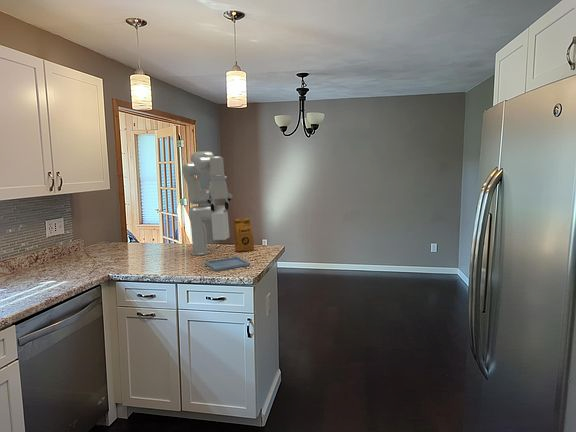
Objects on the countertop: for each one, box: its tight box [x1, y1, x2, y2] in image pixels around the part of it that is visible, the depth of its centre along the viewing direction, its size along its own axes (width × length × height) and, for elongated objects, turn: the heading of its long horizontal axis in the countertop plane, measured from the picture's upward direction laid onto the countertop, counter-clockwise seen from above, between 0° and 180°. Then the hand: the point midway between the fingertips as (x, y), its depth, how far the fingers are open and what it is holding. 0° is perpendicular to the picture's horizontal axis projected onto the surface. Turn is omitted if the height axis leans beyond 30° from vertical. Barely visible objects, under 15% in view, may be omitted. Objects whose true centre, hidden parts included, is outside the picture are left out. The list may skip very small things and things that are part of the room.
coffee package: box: [233, 217, 255, 253], centre depth 261 cm, size 10×12×22 cm
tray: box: [204, 256, 251, 272], centre depth 223 cm, size 20×20×2 cm
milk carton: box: [210, 204, 230, 241], centre depth 220 cm, size 7×7×19 cm
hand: (219, 210), depth 219 cm, fingers closed on milk carton, 7 cm apart
